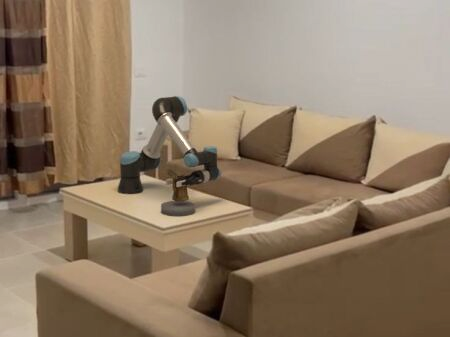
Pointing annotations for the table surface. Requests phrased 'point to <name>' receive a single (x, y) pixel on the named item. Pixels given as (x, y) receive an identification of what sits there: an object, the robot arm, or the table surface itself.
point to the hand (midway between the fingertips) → (171, 183)
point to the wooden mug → (178, 188)
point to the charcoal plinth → (177, 208)
